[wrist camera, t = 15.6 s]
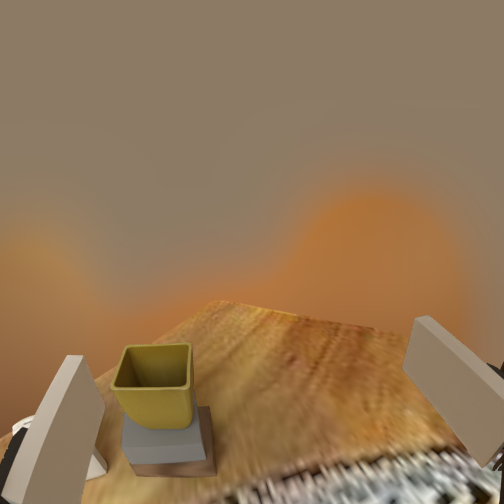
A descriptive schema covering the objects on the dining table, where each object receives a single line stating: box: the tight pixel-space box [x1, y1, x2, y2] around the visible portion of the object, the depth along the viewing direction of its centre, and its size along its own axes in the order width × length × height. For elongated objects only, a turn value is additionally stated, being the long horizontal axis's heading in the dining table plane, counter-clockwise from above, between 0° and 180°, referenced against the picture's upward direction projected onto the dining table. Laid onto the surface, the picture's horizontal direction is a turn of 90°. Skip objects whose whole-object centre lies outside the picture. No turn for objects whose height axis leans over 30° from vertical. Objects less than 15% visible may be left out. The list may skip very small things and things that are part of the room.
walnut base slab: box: [129, 406, 217, 477], centre depth 35 cm, size 11×11×4 cm
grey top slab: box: [121, 390, 206, 464], centre depth 33 cm, size 10×10×4 cm
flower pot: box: [111, 342, 194, 429], centre depth 32 cm, size 9×9×9 cm
